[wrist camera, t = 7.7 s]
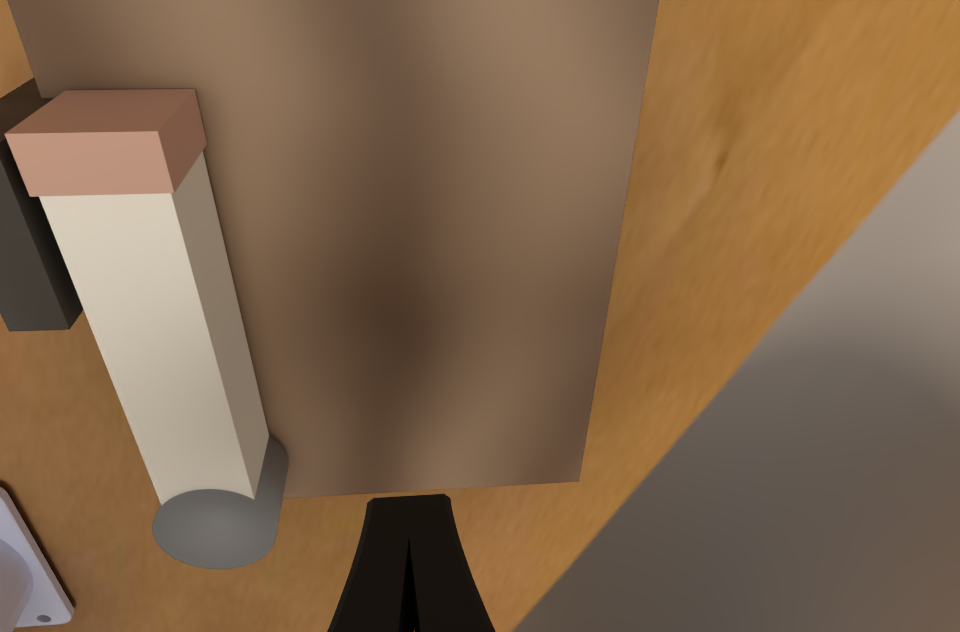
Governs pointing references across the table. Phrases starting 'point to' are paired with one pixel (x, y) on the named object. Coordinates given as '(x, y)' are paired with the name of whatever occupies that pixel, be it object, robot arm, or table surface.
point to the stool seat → (380, 213)
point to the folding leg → (161, 309)
